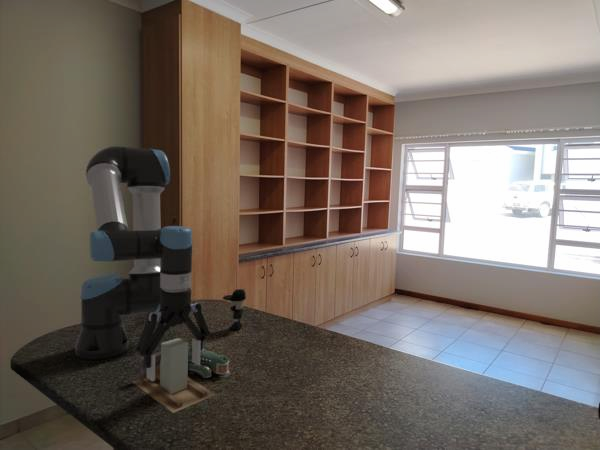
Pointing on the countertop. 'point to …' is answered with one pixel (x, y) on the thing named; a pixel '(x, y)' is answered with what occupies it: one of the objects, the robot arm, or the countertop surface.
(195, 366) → the hoverbike
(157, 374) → the walnut
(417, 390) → the countertop surface
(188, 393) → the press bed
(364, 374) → the countertop surface
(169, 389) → the block
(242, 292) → the toy
